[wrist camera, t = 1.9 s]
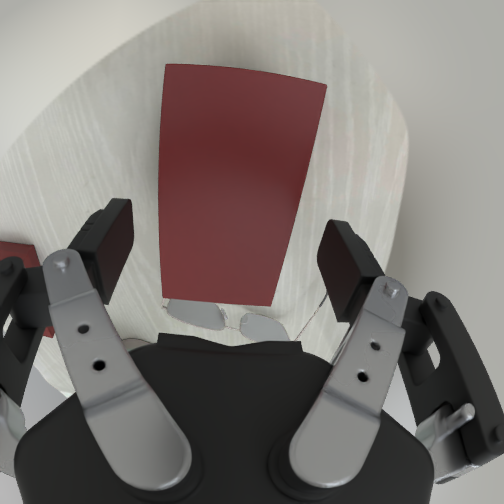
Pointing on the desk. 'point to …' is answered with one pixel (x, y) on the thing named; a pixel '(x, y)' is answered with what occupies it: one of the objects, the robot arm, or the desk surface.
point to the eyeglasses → (213, 319)
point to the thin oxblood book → (231, 179)
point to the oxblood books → (29, 260)
